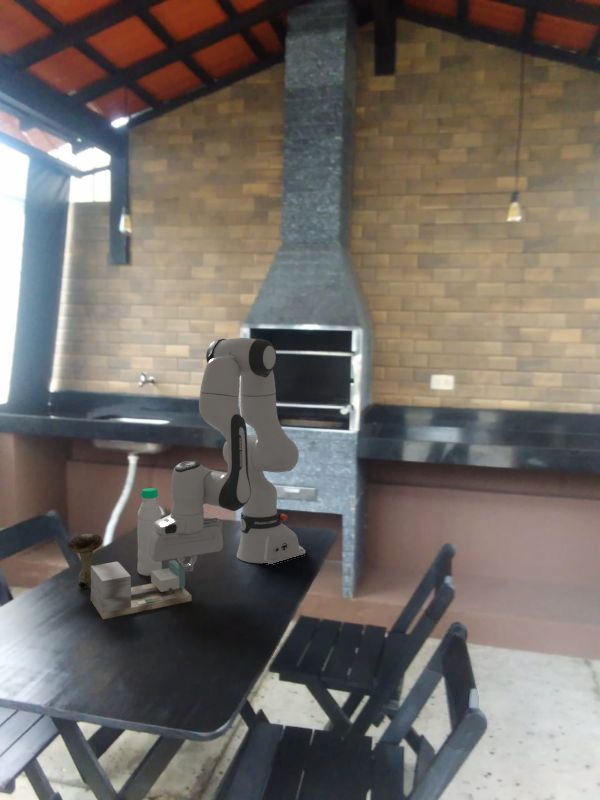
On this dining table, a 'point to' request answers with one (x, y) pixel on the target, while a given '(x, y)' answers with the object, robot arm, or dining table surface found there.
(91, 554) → the mushroom
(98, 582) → the frame
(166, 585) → the block with teal panel
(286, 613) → the dining table surface
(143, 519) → the water bottle
